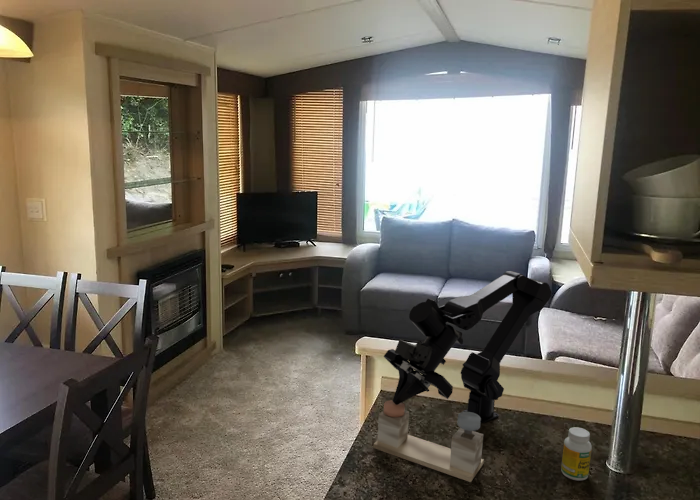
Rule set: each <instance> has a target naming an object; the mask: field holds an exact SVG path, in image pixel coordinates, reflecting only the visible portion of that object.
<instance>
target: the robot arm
mask: <svg viewBox="0 0 700 500" xmlns="http://www.w3.org/2000/svg"><path fill="white" fill-rule="evenodd" d="M510 295H512V296H511V297H512V302H511V303H512V305H511V306H510V308H509V310H508V311H507V312H506V314H505V316H504V317H503V318H502V320H501V321H500V323H499V325H498V326H497V328H496V330H495V331H494V332H493V334H492V336H491V337H490V339H489V340H488V342H487V344H485V347H484V348H483V350H482V351H480V352H478V353H475V352H472V351H471V353H470V354H469V355H468V357H467V359H466V361H465V362H464V363H462V368H461V371H460V376H461V381H462V385H463V388H465V389H467V390H470V391H469V394H468V400H467V408H466V409H465V410H463V411H462V412H472V413H475V414H477V415H479V416H480V418H481V421H480V424H481V423H482V424H483V423H487V422H488V421H491V420H493V419H495V418H497V417H499V413H497V412H495V401H497V400H499V398H502V396H503V394H504V391H505V388H504V387H503V385H501V383H500V382H499V381H498V380H499V378H500V375H501V374H500V373H501V362H502V360H503V359H504V357H505V356H506V354H507V353H508V350H509V349H510V347H511V346H512V345H513V343H514V341H515V340H516V338H517V337H518V334H520V332H521V330H522V329H523V327H524V326H525V324H526V322H527V321H528V319H529V317H530V316H531V315H533V314H535V313H537V312H539V311H541V310H543V308H544V307H545V306H546V304H547V303H548V302H549V301H550V299H551V297H552V290H551V286H550V284H549V283H547V282H545V281H541V280H537V279H533V278H530V277H527V276H525V275H524V274H522V273H519V272H515V271H512V270H509V271H508V270H507V271H504V272H503V274H501V276H500V277H498V278H496V279H494V280H493V281H492V282H490V283H488V284H486V285H485V286H484V287H482V288H481V289H479V290H477V291H476V292H474V293H471V294H469V295H464V296H463V295H462V296H458V297H455V298H452V299H450V300H449V301H447V302H446V303H445V304H442V305H440V306H439V305H438V303H437V302H436V300H434V299H432V298H429V297H428V298H427V299H426V301H422V302H419V303H417V304H416V305H415V306H413V307H412V308H411V310H410V312H409V314H408V315H409V316H408V317H409V320H410V321H411V322H412V323H413V325H414V326H415V327H416V328H417V330H418V331H419V332H421V334H423V336H425V337H426V339H424V341H421V340H419V341H418V342H416V344H413V343H412V342H408V341H405V340H402V339H399V340H398V342H397V345H396V348H395V349H394V348H391V349H388V350H387V351H386V352H385V353H384V355H383V358H384V359H385V360H387V362H388V363H390V365H391V366H392V367H393V368H394V369H396V370H397V371H398V376H399V378H398V382H397V386H396V388H395V392H394V396H393V398H392V400H393V402H394V403H395V404H396V405H398V404H400V403H402V402H403V403H404V402H405V401H407V400H409V399H411V398H413V397H415V396H417V395H420V394H422V393H425V392H426V393H427V392H429V391H430V389H429V387H430V386H433V387H435V388H436V389H437V391H438V392H437V393H438V395H440V396H441V397H443V398H445V399H447V400H448V399H449V398H450V397H451V396H452V394H453V391H454V390H453V389H454V386H453V385H452V384H451V383H450V381H448V380H447V378H446V377H445V376H444V375H442V374H441V373H438V372H437V371H436V370H437V368H438V367H439V365H440V364H441V365H443V366H444V365H445V364H446V363H447V362H446V359H444V358H445V357H446V356H447V354H448V353H449V352H450V351H451V349H452V348H453V346H454V345H455V343H457V344H459V345H463V344H464V339H463V332H462V331H460V330H457V329H455V328H454V327H457V328H459V329H461V330H464V331H470V330H471V329H473V328H474V327H475V326H476V325H477V324H478V323H479V322H480V321H481V320H482V317H483V315H484V313H485V312H486V311H488V310H489V309H491V308H493V307H494V306H496V305H497V304H499V303H500V302H501V301H503V300H505V299H506V298H508V297H509V296H510ZM453 326H454V327H453Z"/></svg>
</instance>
